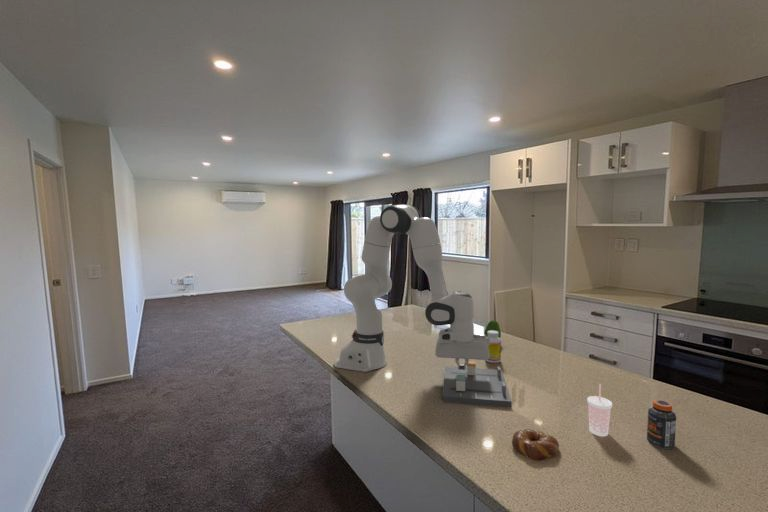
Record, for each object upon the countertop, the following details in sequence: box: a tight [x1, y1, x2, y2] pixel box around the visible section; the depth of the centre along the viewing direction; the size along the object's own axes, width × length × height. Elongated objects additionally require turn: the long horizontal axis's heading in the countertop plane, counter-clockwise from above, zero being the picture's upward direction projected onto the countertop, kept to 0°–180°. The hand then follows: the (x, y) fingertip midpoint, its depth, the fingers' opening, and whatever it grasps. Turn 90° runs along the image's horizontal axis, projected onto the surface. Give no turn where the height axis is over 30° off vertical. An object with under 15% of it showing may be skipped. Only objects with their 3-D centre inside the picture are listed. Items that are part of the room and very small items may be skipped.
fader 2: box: [466, 360, 477, 375], centre depth 137 cm, size 3×4×4 cm
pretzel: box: [511, 428, 560, 462], centre depth 94 cm, size 12×11×4 cm
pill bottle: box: [646, 399, 677, 450], centre depth 95 cm, size 6×6×11 cm
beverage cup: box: [586, 383, 613, 437], centre depth 100 cm, size 6×6×14 cm
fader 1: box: [456, 375, 465, 391], centre depth 124 cm, size 3×4×4 cm
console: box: [442, 366, 513, 408], centre depth 130 cm, size 22×26×5 cm
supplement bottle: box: [485, 330, 502, 364], centre depth 155 cm, size 7×7×13 cm
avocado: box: [483, 320, 502, 339], centre depth 177 cm, size 8×8×12 cm
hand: (461, 369), depth 137 cm, fingers closed
